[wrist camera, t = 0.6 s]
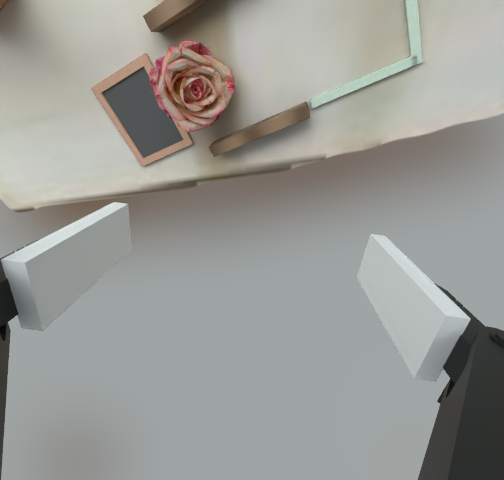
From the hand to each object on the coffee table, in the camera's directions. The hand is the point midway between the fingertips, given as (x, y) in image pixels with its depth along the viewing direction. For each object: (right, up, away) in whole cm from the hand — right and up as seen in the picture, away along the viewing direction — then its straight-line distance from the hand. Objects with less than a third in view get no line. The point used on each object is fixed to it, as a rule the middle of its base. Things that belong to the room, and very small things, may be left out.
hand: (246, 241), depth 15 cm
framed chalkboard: (-15, +18, +24) cm, 34 cm away
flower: (-6, +21, +21) cm, 30 cm away
